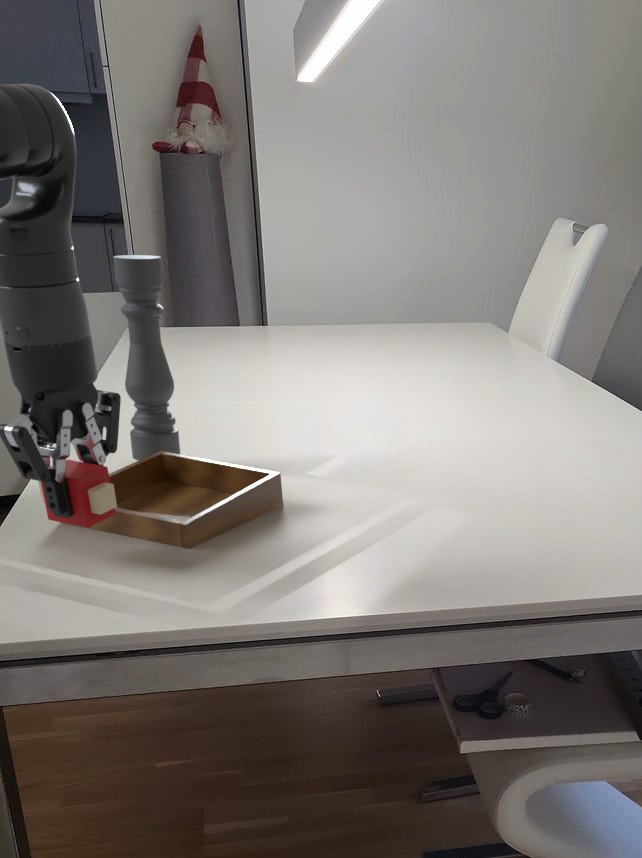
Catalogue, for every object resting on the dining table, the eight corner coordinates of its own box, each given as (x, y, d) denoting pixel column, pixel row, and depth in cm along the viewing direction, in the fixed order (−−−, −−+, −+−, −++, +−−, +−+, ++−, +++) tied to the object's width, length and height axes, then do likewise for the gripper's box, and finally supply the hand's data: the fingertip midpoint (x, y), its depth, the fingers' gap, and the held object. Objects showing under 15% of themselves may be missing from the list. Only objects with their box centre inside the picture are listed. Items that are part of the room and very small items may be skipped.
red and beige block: (38, 517, 103) (28, 469, 101) (68, 504, 107) (59, 457, 104) (97, 530, 101) (88, 481, 98) (125, 516, 104) (117, 468, 102)
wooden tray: (62, 533, 116) (55, 497, 114) (165, 483, 131) (160, 450, 128) (190, 562, 110) (185, 525, 108) (283, 506, 124) (280, 472, 122)
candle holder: (190, 453, 141) (173, 256, 130) (163, 464, 135) (143, 260, 125) (150, 448, 142) (131, 253, 132) (122, 458, 137) (100, 257, 127)
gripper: (71, 313, 102) (100, 479, 110) (-47, 344, 91) (-5, 527, 99) (132, 321, 99) (157, 490, 108) (18, 353, 88) (56, 540, 96)
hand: (79, 507), depth 103 cm, fingers closed on red and beige block, 4 cm apart
